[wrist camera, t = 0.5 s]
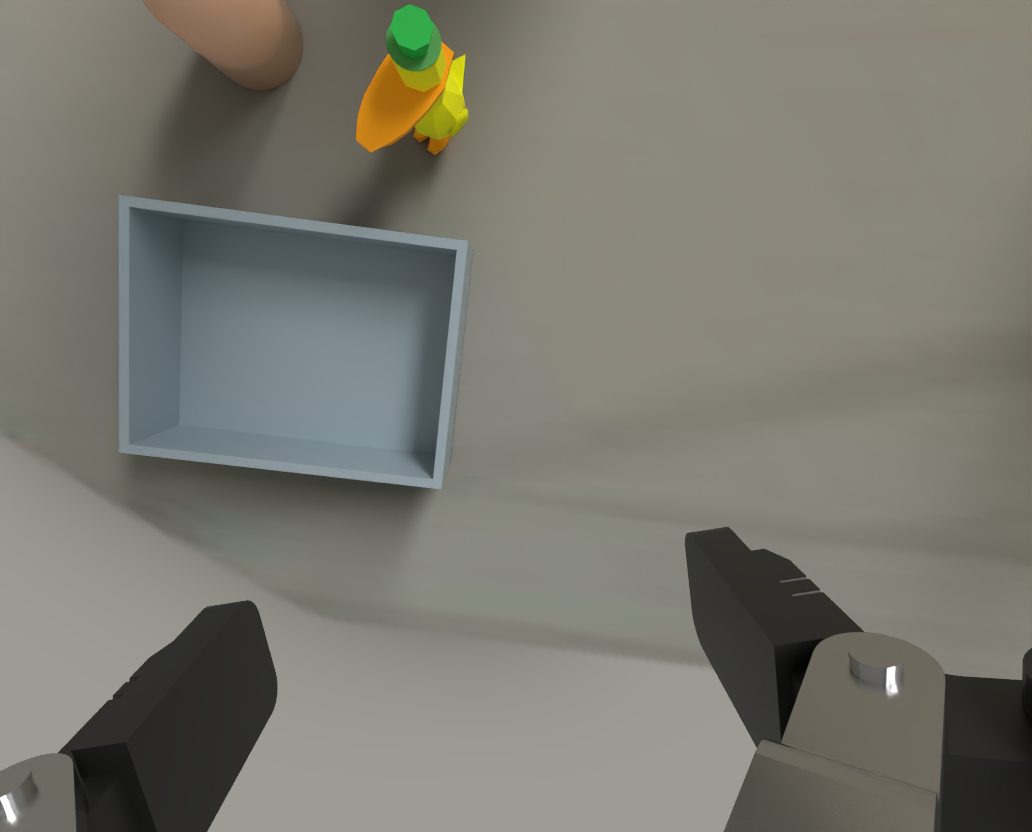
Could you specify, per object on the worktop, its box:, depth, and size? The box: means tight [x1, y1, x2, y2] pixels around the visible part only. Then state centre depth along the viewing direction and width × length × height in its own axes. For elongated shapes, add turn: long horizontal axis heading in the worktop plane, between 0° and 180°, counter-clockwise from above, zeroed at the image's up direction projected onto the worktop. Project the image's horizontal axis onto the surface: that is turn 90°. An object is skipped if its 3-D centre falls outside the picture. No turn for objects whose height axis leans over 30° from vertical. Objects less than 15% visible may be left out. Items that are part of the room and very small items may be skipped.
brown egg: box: [142, 0, 303, 90], centre depth 29 cm, size 5×5×7 cm
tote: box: [119, 195, 473, 489], centre depth 33 cm, size 13×17×6 cm
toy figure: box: [356, 4, 468, 155], centre depth 28 cm, size 7×4×12 cm, turn 141°
